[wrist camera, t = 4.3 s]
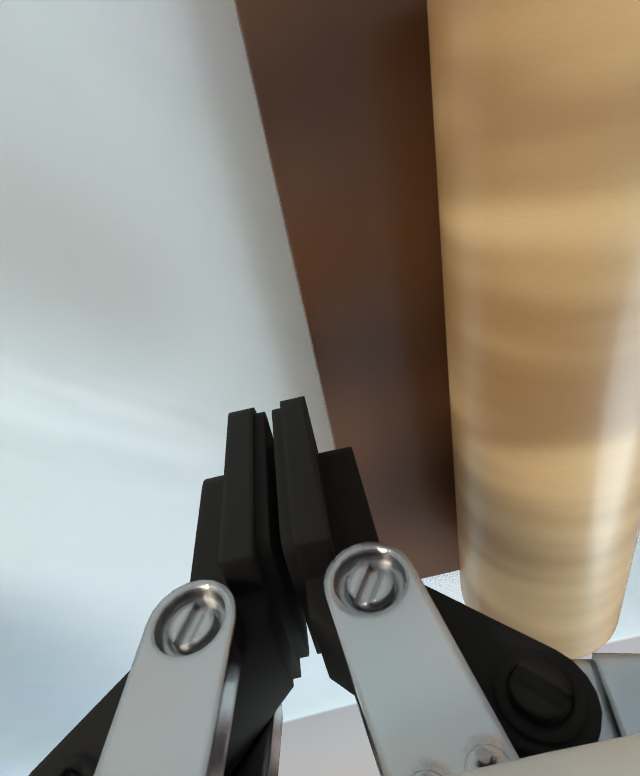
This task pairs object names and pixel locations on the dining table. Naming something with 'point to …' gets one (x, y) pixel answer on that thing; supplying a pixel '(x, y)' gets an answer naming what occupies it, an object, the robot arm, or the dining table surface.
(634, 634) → the dining table surface
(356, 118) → the pastry board
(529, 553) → the rolling pin
